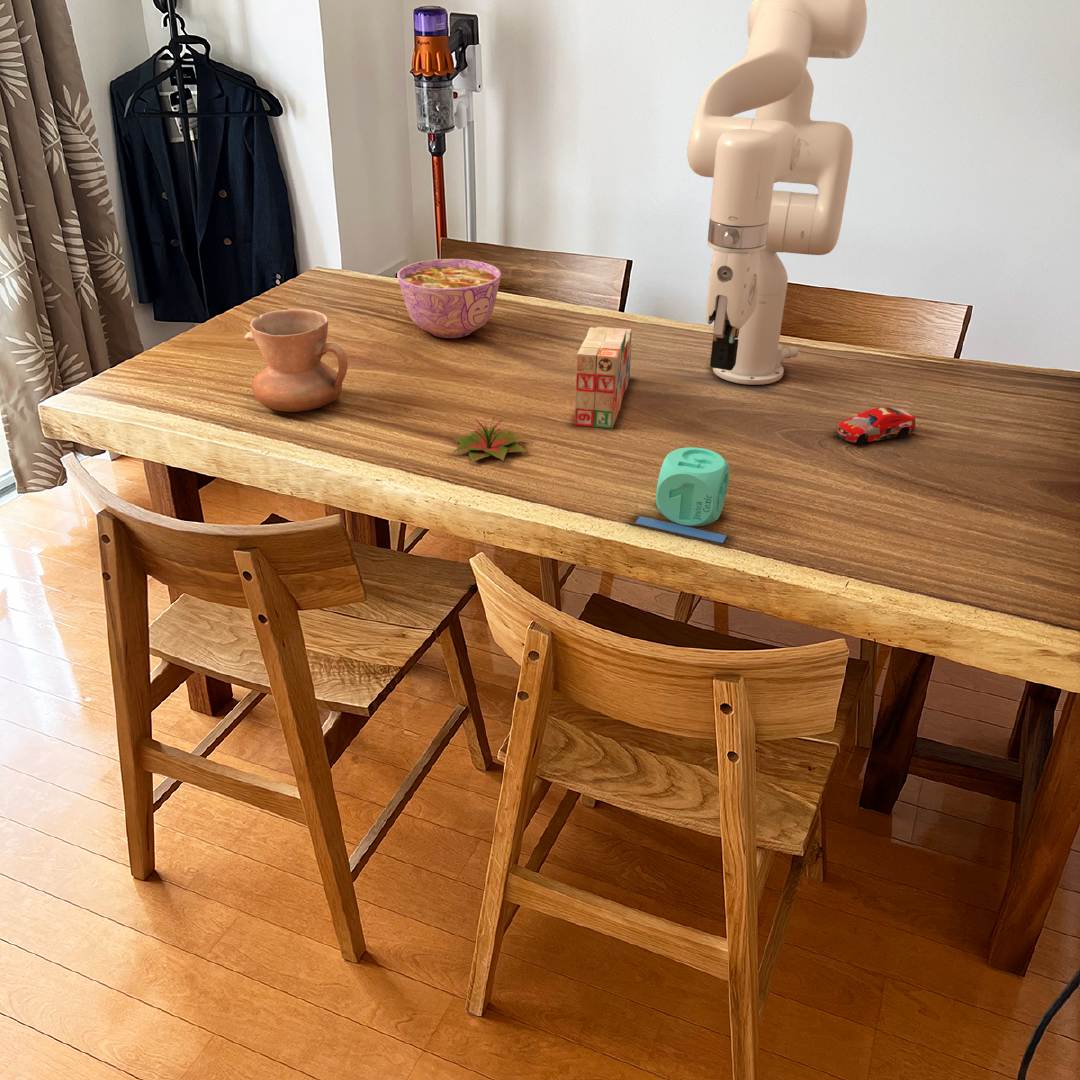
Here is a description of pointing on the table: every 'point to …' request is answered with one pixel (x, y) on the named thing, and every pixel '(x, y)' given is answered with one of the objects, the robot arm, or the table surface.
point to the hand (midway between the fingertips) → (722, 366)
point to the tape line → (681, 529)
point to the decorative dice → (692, 486)
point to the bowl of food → (449, 295)
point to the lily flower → (489, 443)
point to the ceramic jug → (295, 360)
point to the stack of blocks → (602, 376)
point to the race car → (876, 425)
